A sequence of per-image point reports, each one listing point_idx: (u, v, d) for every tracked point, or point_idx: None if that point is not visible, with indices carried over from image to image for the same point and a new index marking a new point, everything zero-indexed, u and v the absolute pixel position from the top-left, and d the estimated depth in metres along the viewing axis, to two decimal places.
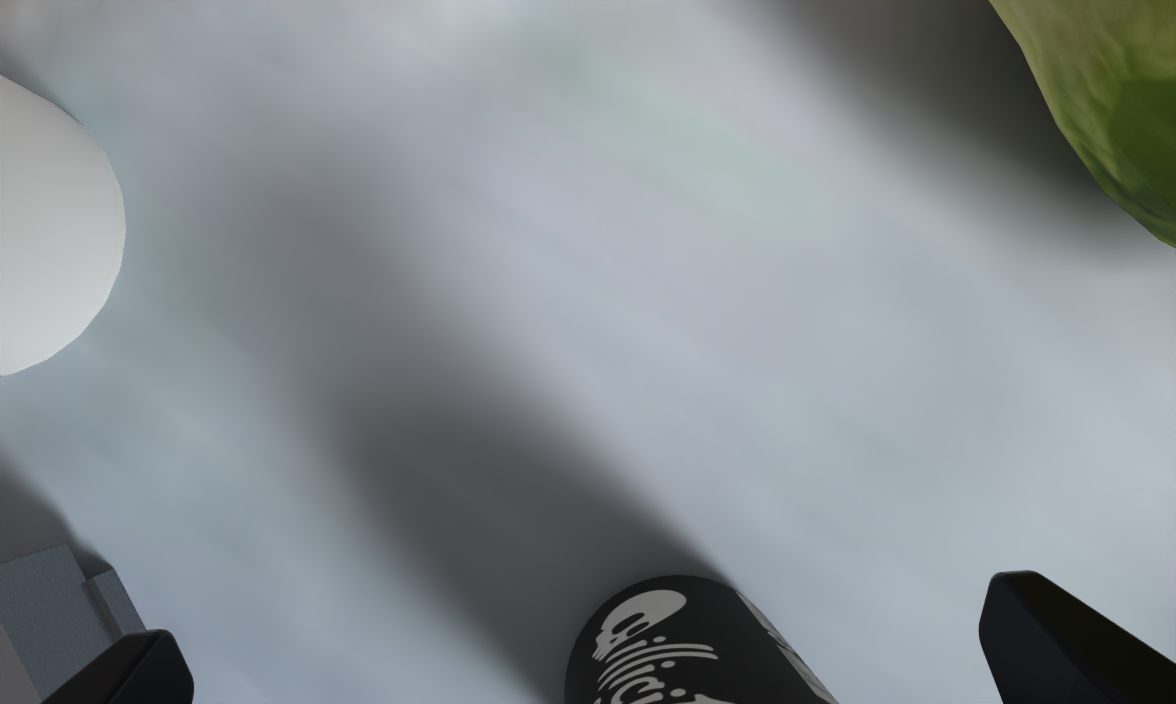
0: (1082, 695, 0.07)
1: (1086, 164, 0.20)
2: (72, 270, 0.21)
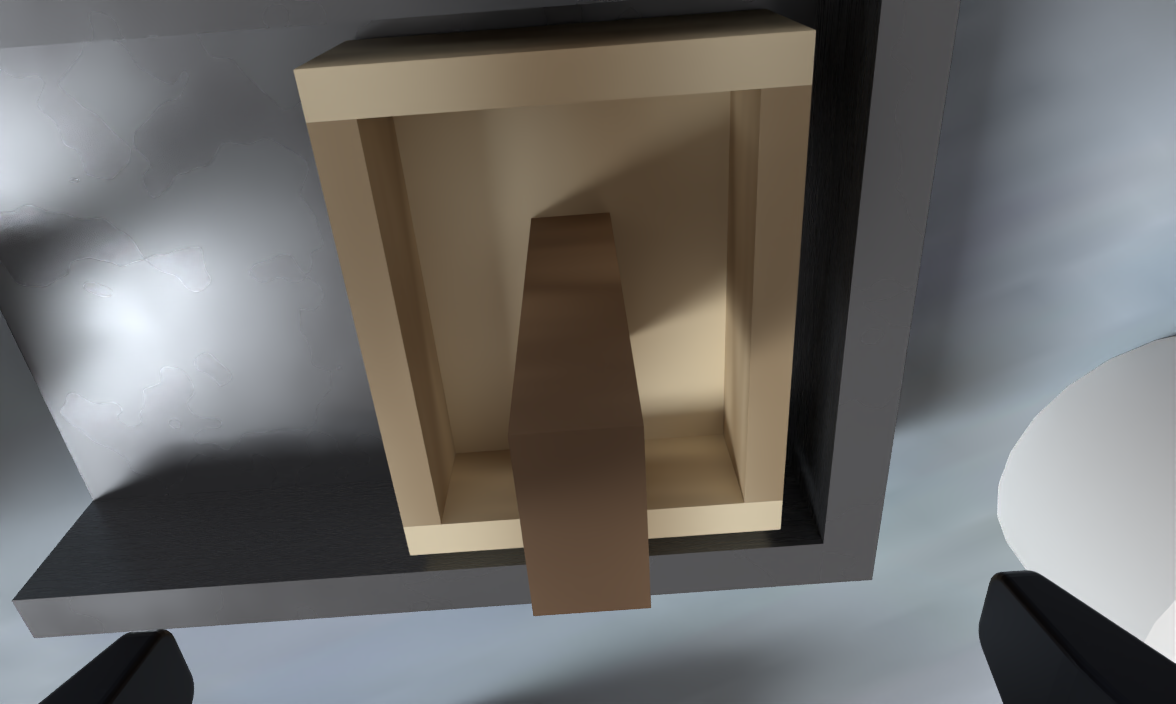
0: (1082, 695, 0.07)
1: None
2: None
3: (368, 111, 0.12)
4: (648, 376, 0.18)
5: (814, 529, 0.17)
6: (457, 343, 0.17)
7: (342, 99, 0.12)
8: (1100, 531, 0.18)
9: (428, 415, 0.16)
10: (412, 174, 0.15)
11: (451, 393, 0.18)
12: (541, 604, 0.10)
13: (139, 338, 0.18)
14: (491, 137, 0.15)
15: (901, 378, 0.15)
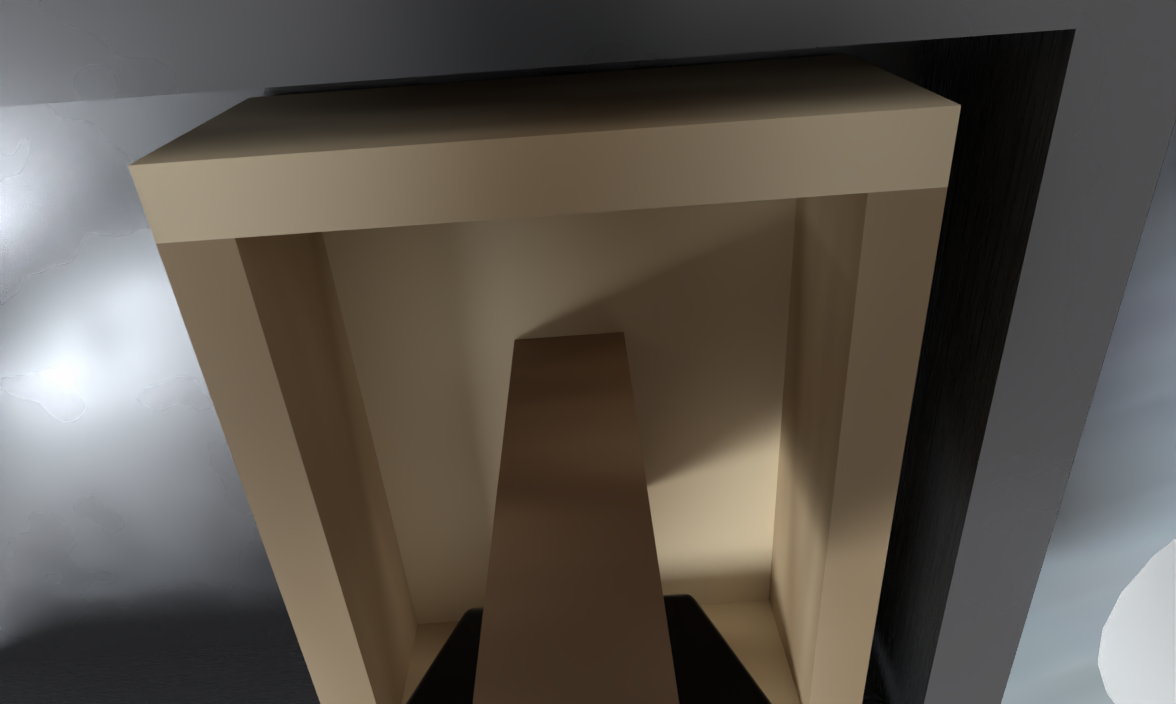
0: None
1: None
2: None
3: (253, 226, 0.08)
4: (671, 533, 0.13)
5: None
6: (416, 495, 0.13)
7: (210, 209, 0.08)
8: None
9: (372, 610, 0.11)
10: (346, 283, 0.11)
11: (410, 554, 0.13)
12: None
13: None
14: (457, 234, 0.10)
15: (1036, 575, 0.11)
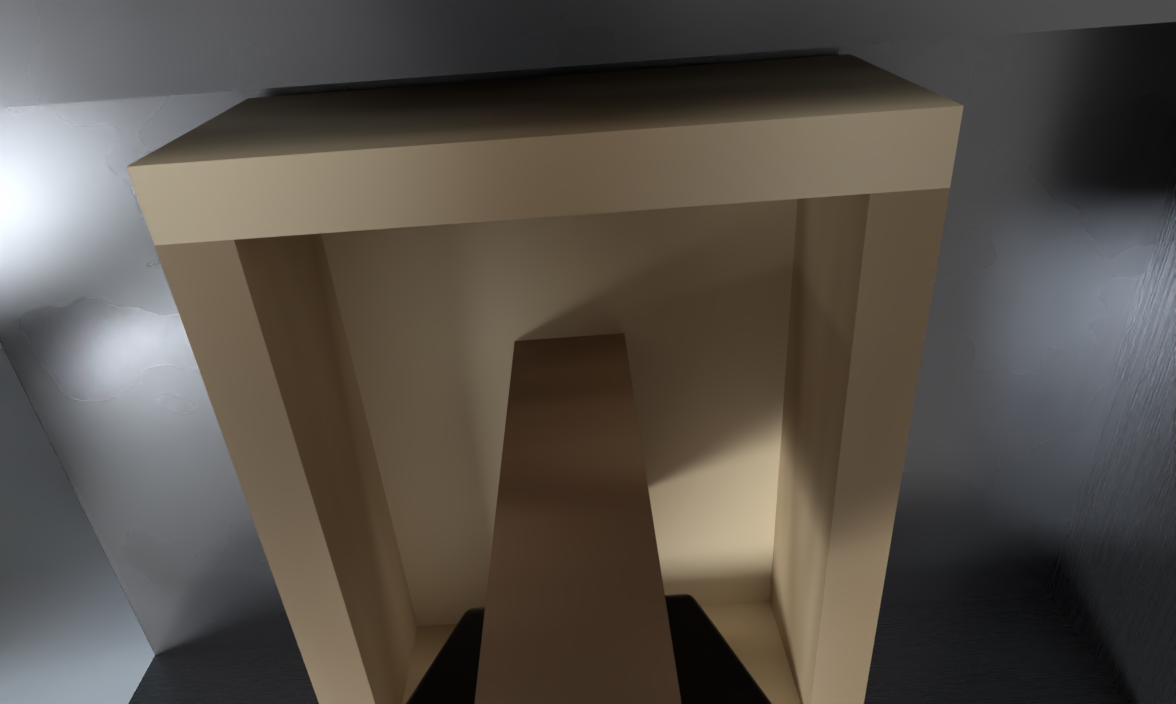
0: None
1: None
2: None
3: (252, 228, 0.08)
4: (672, 535, 0.13)
5: None
6: (416, 497, 0.13)
7: (209, 210, 0.08)
8: None
9: (371, 613, 0.11)
10: (346, 284, 0.11)
11: (409, 556, 0.13)
12: None
13: (228, 464, 0.13)
14: (457, 235, 0.10)
15: None
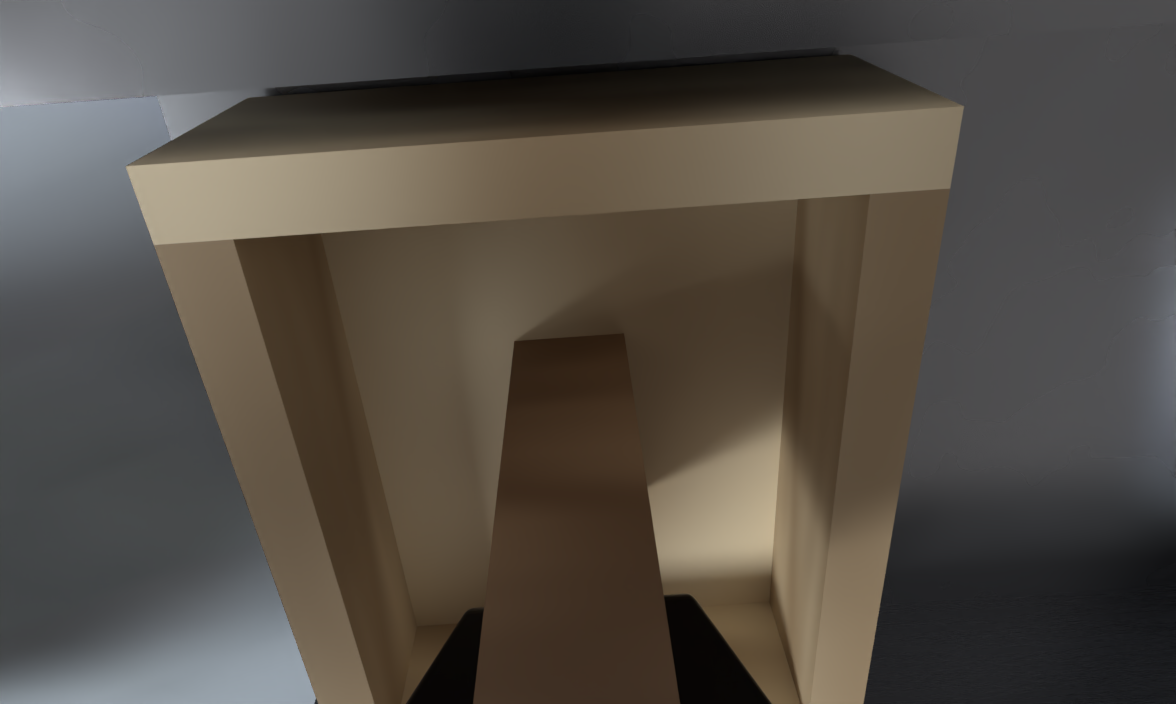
0: None
1: None
2: None
3: (251, 227, 0.08)
4: (672, 535, 0.13)
5: None
6: (415, 497, 0.13)
7: (208, 210, 0.08)
8: None
9: (371, 613, 0.11)
10: (345, 284, 0.11)
11: (409, 556, 0.13)
12: None
13: None
14: (456, 235, 0.10)
15: None
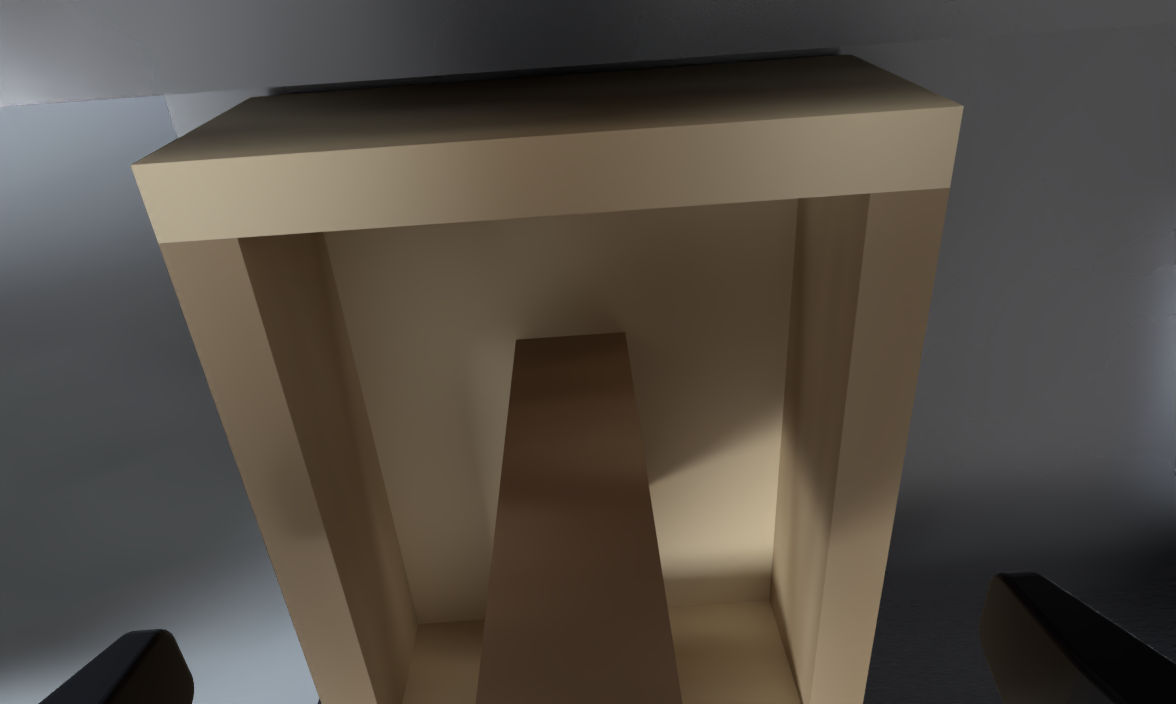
0: (1082, 695, 0.07)
1: None
2: None
3: (255, 226, 0.08)
4: (672, 533, 0.13)
5: None
6: (417, 495, 0.13)
7: (213, 209, 0.08)
8: None
9: (373, 610, 0.11)
10: (348, 283, 0.11)
11: (411, 554, 0.13)
12: None
13: None
14: (458, 234, 0.10)
15: None
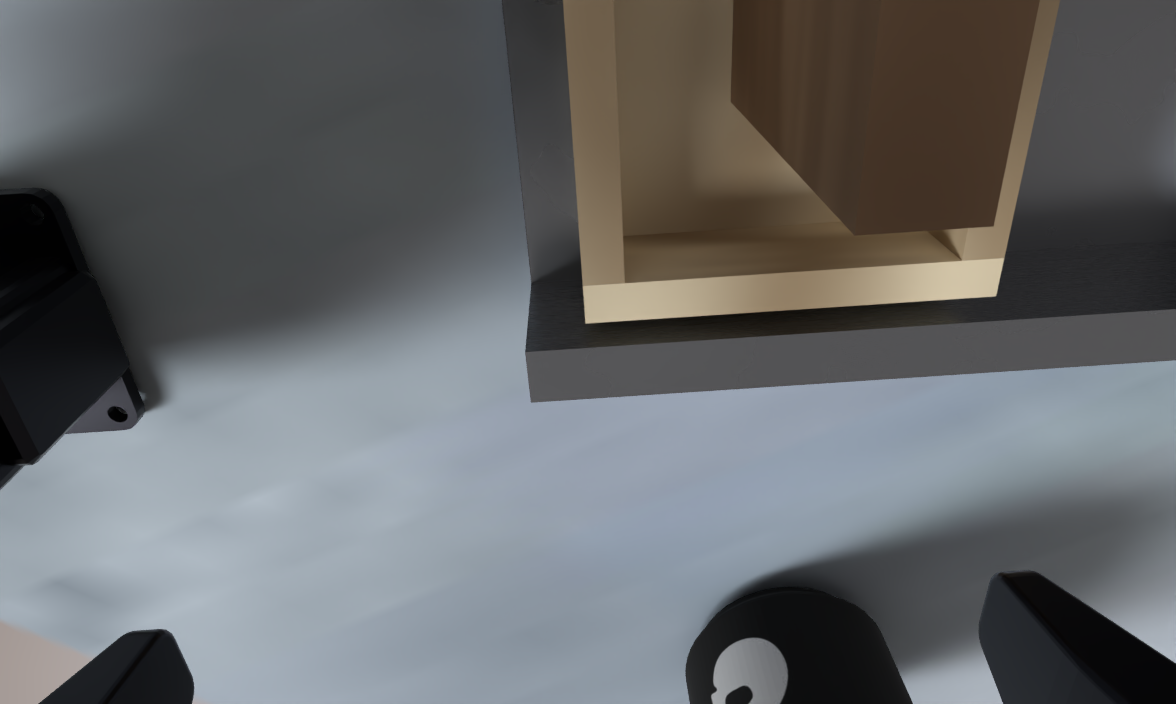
0: (1082, 695, 0.07)
1: None
2: None
3: None
4: None
5: None
6: (635, 95, 0.15)
7: None
8: None
9: None
10: None
11: (621, 159, 0.16)
12: (868, 217, 0.09)
13: None
14: None
15: None
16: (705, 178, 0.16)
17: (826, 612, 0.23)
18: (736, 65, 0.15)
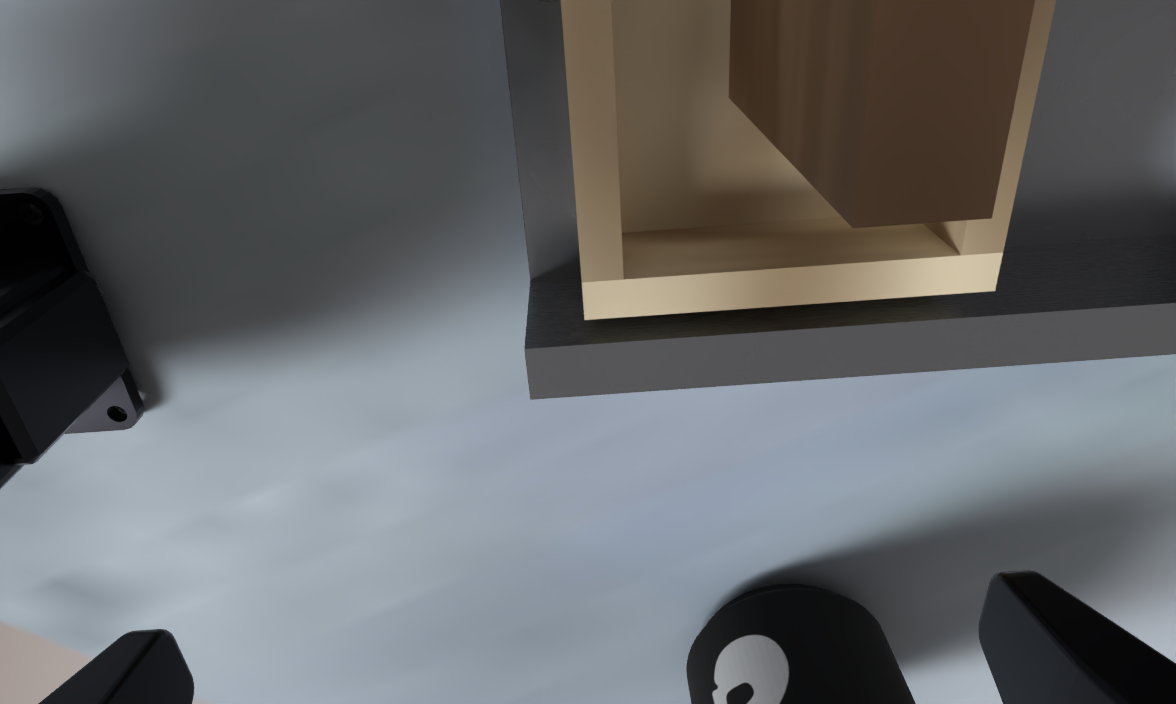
0: (1083, 695, 0.07)
1: None
2: None
3: None
4: None
5: None
6: (633, 91, 0.15)
7: None
8: None
9: None
10: None
11: (619, 156, 0.16)
12: (866, 209, 0.09)
13: None
14: None
15: None
16: (703, 174, 0.16)
17: (827, 609, 0.23)
18: (734, 61, 0.15)
